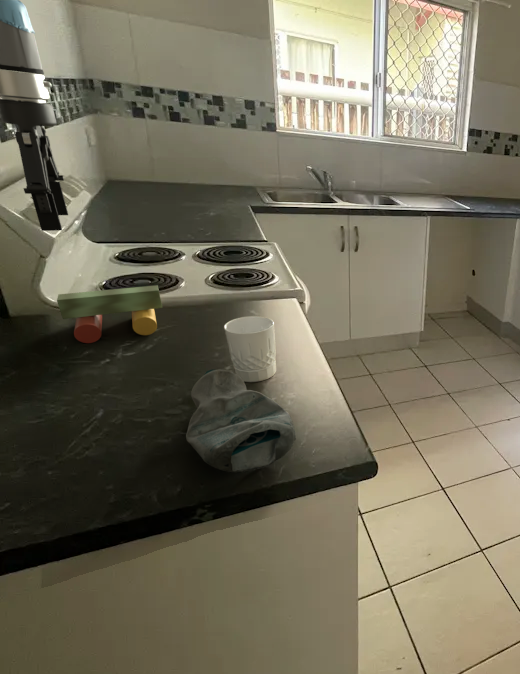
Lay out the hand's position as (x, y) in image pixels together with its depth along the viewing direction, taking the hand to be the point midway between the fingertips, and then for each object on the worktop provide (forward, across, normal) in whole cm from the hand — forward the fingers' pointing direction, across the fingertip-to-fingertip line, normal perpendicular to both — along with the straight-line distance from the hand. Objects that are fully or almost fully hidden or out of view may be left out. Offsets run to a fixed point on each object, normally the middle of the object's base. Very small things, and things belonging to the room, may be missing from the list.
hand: (55, 222), depth 91 cm
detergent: (+21, -54, -20) cm, 61 cm away
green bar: (+17, -5, -6) cm, 19 cm away
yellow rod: (+21, -5, -10) cm, 24 cm away
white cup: (+21, -36, -26) cm, 50 cm away
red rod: (+21, -5, -1) cm, 22 cm away
